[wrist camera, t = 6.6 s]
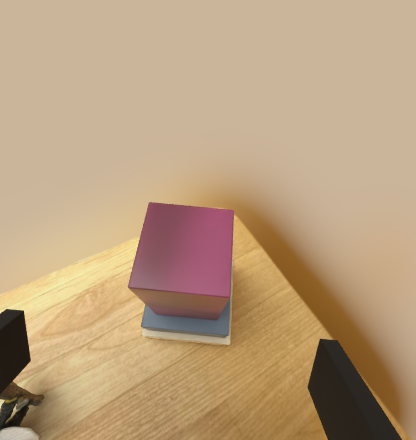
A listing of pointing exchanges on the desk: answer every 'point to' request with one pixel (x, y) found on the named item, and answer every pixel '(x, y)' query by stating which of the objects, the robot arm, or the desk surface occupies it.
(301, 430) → the desk surface
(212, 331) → the slate block
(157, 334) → the cream block
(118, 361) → the desk surface
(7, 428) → the eagle figurine
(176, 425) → the desk surface
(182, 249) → the mulberry block
